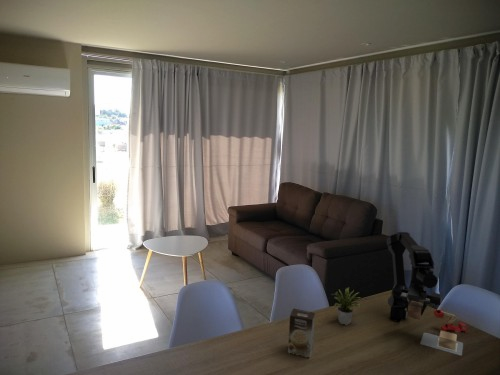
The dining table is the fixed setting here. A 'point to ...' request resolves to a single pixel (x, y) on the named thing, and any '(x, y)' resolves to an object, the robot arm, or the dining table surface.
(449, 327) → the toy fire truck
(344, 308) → the house plant
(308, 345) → the coffee box
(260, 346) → the dining table surface
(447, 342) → the oak base block
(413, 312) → the walnut cube
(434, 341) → the plate
